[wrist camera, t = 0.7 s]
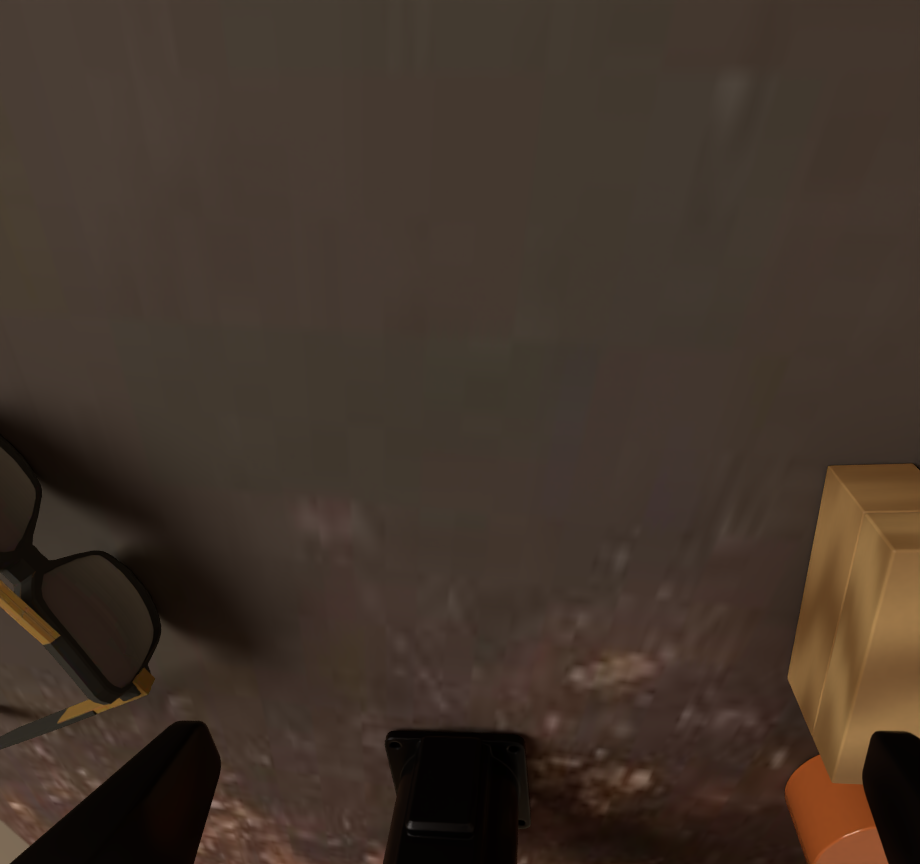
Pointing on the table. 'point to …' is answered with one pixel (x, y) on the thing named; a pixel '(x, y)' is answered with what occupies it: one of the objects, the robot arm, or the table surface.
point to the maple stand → (861, 615)
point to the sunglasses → (72, 607)
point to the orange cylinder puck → (832, 818)
